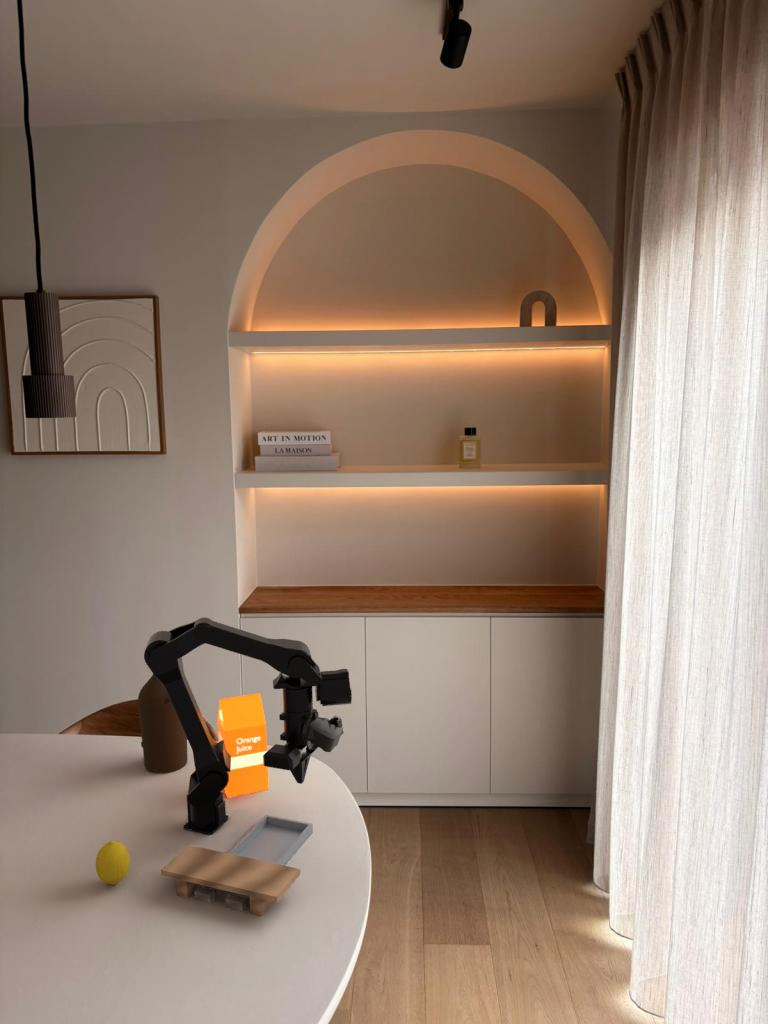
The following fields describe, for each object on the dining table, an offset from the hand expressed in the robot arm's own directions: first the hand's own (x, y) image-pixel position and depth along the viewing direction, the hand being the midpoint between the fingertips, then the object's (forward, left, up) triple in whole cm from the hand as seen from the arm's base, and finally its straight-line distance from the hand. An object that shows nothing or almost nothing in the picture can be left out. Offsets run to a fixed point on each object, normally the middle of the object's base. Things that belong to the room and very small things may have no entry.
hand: (300, 782), depth 159 cm
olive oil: (-39, +10, -7) cm, 41 cm away
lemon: (-20, -31, -7) cm, 38 cm away
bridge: (0, -26, -7) cm, 27 cm away
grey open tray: (0, -12, -7) cm, 14 cm away
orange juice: (-17, +7, -7) cm, 19 cm away
